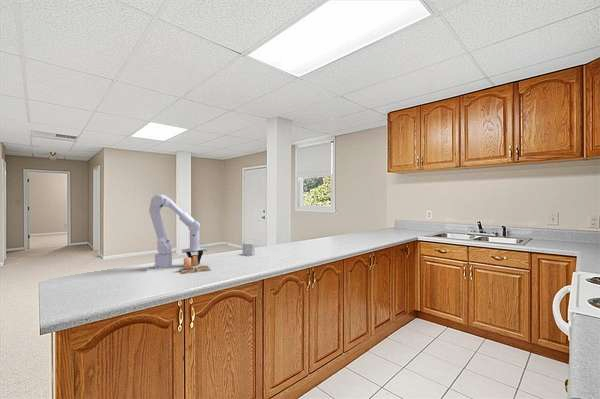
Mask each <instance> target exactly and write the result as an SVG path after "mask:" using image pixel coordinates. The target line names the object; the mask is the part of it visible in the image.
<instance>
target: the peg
mask: <svg viewBox="0 0 600 399" xmlns="http://www.w3.org/2000/svg"><path fill="white" fill-rule="evenodd" d="M191 267H192V266H191V258H188V257H184V258H183V268H184V271H185V270H191Z"/></svg>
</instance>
